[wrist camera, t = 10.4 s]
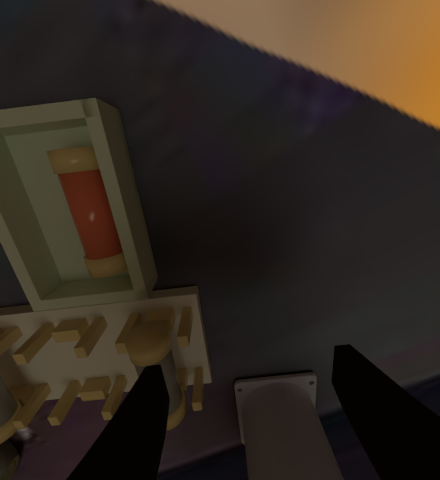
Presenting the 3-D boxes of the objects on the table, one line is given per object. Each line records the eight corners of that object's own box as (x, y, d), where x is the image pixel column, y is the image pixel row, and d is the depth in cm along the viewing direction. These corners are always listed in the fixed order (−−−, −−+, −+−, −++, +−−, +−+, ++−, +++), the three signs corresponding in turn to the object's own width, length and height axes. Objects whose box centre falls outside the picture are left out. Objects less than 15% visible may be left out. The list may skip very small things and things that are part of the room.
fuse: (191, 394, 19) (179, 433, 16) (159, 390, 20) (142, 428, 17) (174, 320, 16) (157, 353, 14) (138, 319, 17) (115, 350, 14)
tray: (158, 276, 18) (148, 298, 16) (61, 287, 19) (33, 311, 16) (118, 109, 14) (95, 97, 11) (-6, 124, 14) (-60, 117, 12)
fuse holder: (211, 371, 22) (211, 419, 18) (10, 392, 22) (-36, 444, 18) (197, 285, 19) (192, 321, 15) (-40, 312, 19) (-108, 353, 15)
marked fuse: (111, 257, 18) (142, 259, 16) (79, 275, 15) (113, 279, 14) (80, 152, 15) (114, 146, 14) (33, 153, 12) (71, 146, 11)
